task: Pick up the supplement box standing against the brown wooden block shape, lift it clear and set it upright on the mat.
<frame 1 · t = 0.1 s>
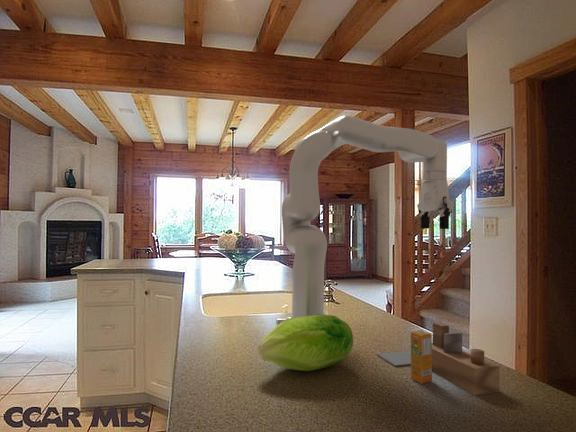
hand: (434, 228, 133), 31 cm above the worktop, fingers open, 9 cm apart
brown wooden block shape: (457, 377, 84), on the worktop
supplement box: (420, 381, 83), on the worktop
mat: (400, 359, 95), on the worktop
lettuce: (306, 370, 88), on the worktop
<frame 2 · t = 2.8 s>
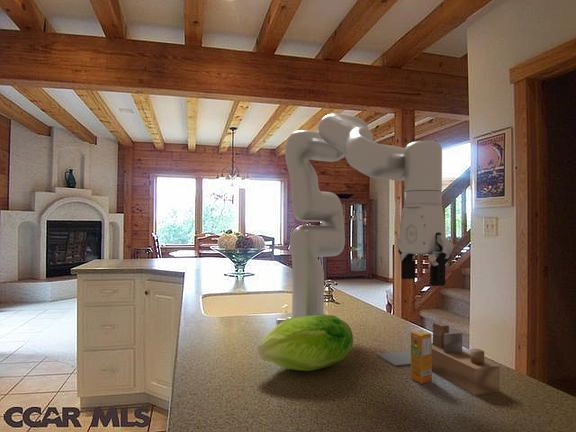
hand: (422, 281, 83), 20 cm above the worktop, fingers open, 9 cm apart
nothing on the worktop moved.
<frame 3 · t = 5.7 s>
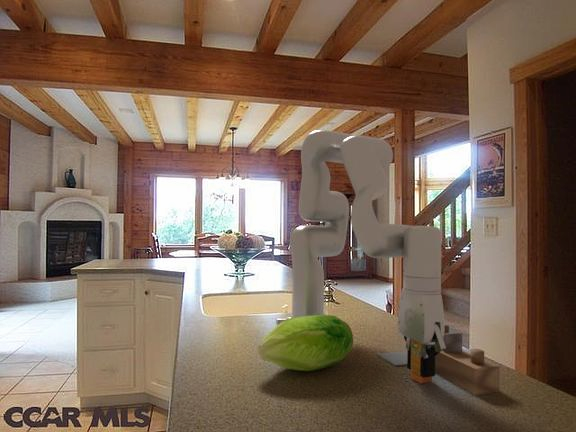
hand: (420, 371, 83), 2 cm above the worktop, fingers closed on supplement box, 3 cm apart
supplement box: (420, 381, 82), on the worktop, touching gripper
everything else where it was.
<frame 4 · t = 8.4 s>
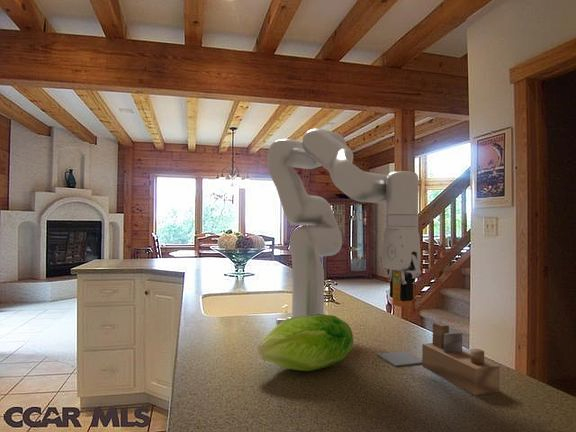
hand: (401, 298, 95), 15 cm above the worktop, fingers closed on supplement box, 3 cm apart
supplement box: (401, 306, 95), point 13 cm above the worktop, touching gripper
everything else where it was.
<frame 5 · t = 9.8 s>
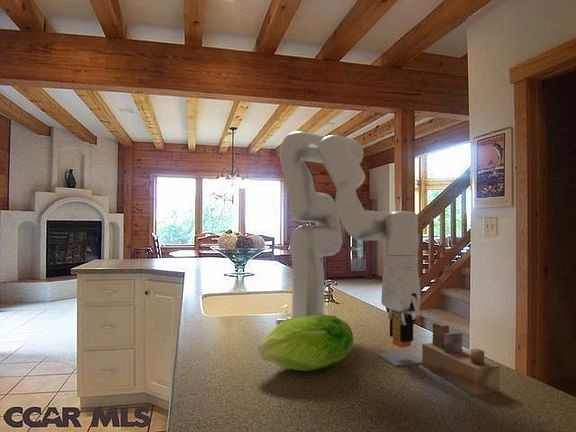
hand: (401, 338, 95), 5 cm above the worktop, fingers closed on supplement box, 3 cm apart
supplement box: (401, 346, 95), point 3 cm above the worktop, touching gripper
everything else where it was.
when the fingers open (3 cm above the worktop, at t = 11.1 s): supplement box stays where it is, resting on mat.
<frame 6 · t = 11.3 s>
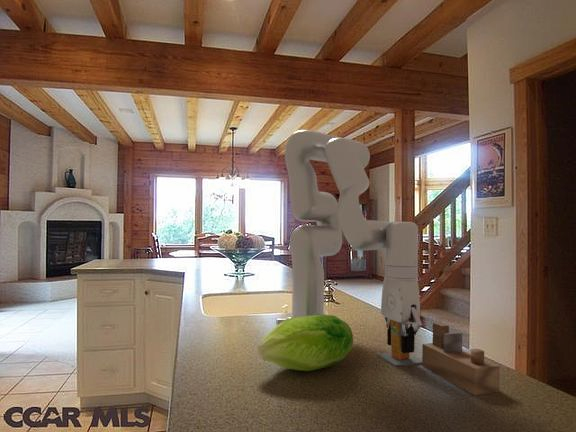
hand: (400, 347, 95), 3 cm above the worktop, fingers open, 5 cm apart
supplement box: (400, 358, 95), resting on mat
everything else where it was.
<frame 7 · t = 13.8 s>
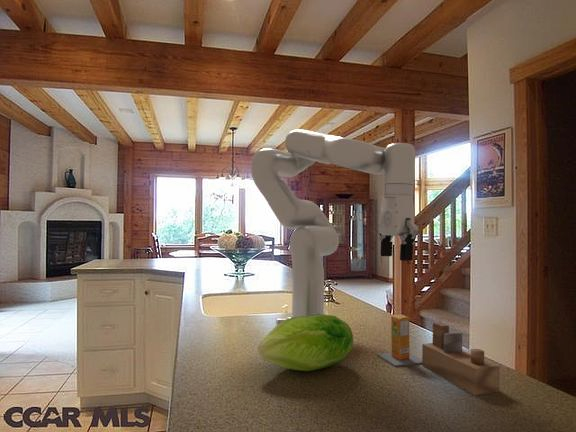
hand: (395, 258, 102), 24 cm above the worktop, fingers open, 9 cm apart
nothing on the worktop moved.
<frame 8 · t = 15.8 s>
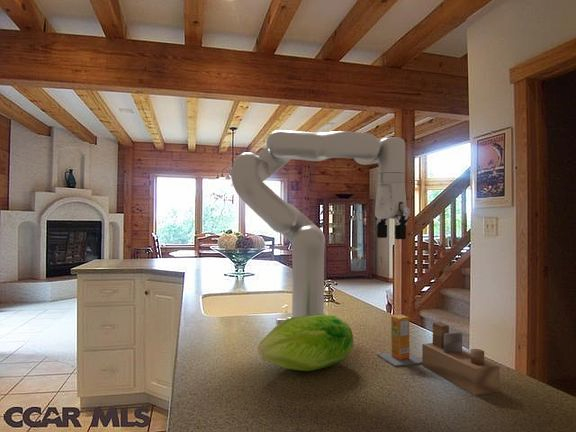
hand: (390, 238, 116), 28 cm above the worktop, fingers open, 9 cm apart
nothing on the worktop moved.
at the end: supplement box inside the target area on the mat (0.1 cm from its centre), point 0.2 cm above the mat's base; supplement box tilted 0°; the gripper is holding nothing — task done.
